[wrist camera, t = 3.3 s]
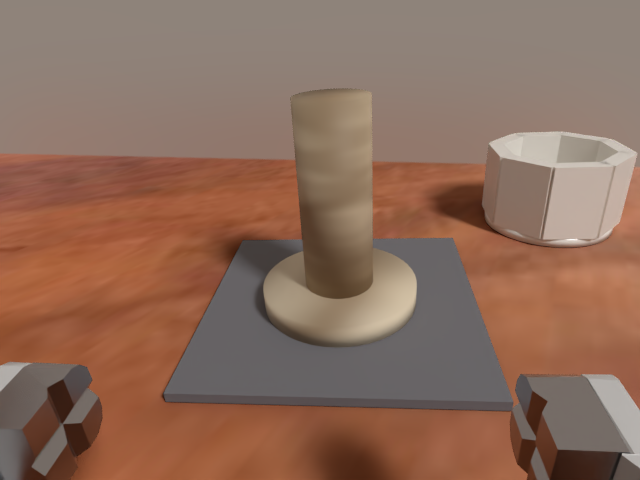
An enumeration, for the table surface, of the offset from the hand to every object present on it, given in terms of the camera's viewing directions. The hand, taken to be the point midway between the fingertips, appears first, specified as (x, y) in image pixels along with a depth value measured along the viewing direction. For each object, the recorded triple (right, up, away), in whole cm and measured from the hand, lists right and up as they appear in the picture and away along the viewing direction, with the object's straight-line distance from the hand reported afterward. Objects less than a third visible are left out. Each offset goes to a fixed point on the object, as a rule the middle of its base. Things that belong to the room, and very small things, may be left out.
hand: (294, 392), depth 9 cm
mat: (+1, 0, +13) cm, 13 cm away
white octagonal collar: (+14, +4, +19) cm, 24 cm away
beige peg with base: (+1, 0, +12) cm, 12 cm away
